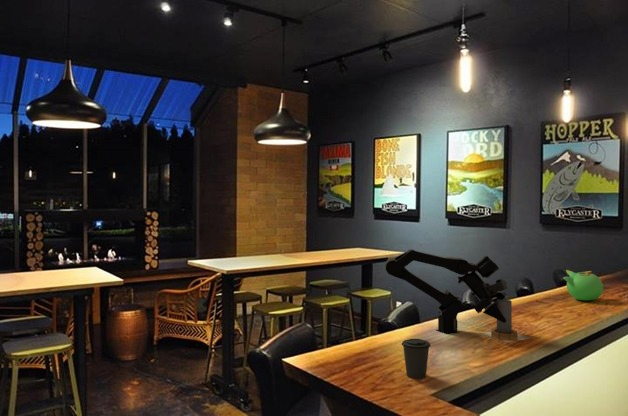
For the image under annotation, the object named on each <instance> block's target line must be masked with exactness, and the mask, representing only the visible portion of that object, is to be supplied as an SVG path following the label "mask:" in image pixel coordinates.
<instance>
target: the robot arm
mask: <svg viewBox="0 0 628 416" xmlns="http://www.w3.org/2000/svg"><path fill="white" fill-rule="evenodd" d="M412 262H417V263H423V264H427V265H432V266H436V267H440V268H442V269H443V268H444V269H445V270H448V271H450V272H453V273H454V274H455V273H456V274H458V275H460V276H457V279H458V281H457V284H458V285H462V284H463V283H464V284H465V286H466V287H467V288H468V289H469V291H470V292H472V293H471V295H472V296H473V297H476V298H477V299H478V302H477V303H476V304H474V310H475V312H476V313H477V314H480V313H482V314H484V315H487V316H490V317H491V318H493V319H495V320H497V319H498V320H500V321H502V322H504V323H505V322H506V319H505V318H504V316H503V315H502V313H501V312H500V310H499V309H498V308H497V300H498V299H505V300H507V297H508V296H509V295H508V294H507V292H505V290H508V289H509V288H508V286H507V284H508V283H507V282H506V280H503V279H502V278H499V279H496V281H495V283H493V284H490V282H485V281H484V280H483V279H484V278H485V279H489V278H490V277H491V276H493V275H494V274H495V273H497V271H499V270H500V267H499V266H498V264H496V263H495V262H494V261H493V260H492V259H491V258H490V257H489V256H488V255H484V256H483V257H482V258H481V259H480V260H479V261H478V262H476V263H475V264H474V263H472V262H471V263H470V262H469V261H468V260H466V259H464V258H462V257H450V256H449V257H448V256H447V257H446V256H445V257H444V256H440V255H436V254H431V253H426V252H423V251H418V250H415V249H413V248H411V249H408V250H406V251H404V252H403V253H401V254H399V255H397V256H396V257H395V258H388V259H386V261H385V262H384V269H385V271H386V273H387V274H388V275H390V276H391V277H394V278H397V279H400V280H403V281H405V282H407V283H409V284H410V285H411V286H413V287H415V288H416V289H418V290H420V291H421V292H423V293H424V294H426V295H428V296H430V297H431V298H432V299H434V300H435V301H437V302H438V303H439V304H440V305H439V306H438V307H437V311H438V313H439V315H438V316H437V319H438V320H437V329H435V331H436V332H439V333H442V334H443V335H451V334H452V335H453V334H457V333H458V334H460V331H459V330H458V317H457V316H458V315H459V313H460V312H461V311H462V310H463V304H462V301H461V300H460V297H459V296H458V295H457V294H455V293H451V292H450V291H449V290H448V289H447V288H446V289H445V291H442V290H440V289H438V288H437V287H435V286H433V285H431V284H430V283H428V282H427V281H425V280H423V279H422V278H421V277H419V276H417V275H416V274H414V273H413V272H411V271H409V270H408V269H407V268H406V266H408V265H410V264H411V263H412Z"/></svg>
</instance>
